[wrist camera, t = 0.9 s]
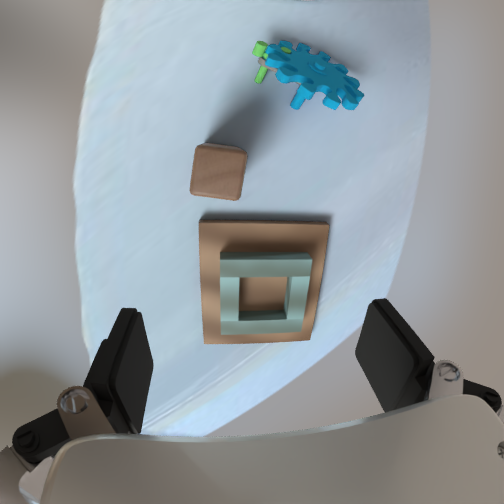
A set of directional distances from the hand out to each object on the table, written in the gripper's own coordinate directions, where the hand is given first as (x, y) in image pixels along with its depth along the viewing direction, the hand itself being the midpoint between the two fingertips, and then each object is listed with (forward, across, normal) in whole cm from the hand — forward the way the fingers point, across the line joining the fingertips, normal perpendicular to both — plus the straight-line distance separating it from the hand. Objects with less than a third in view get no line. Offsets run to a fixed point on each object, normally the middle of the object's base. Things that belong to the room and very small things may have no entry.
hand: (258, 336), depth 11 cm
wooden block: (+21, +2, -4) cm, 22 cm away
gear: (+21, -6, -14) cm, 26 cm away
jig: (+21, -3, +10) cm, 23 cm away
